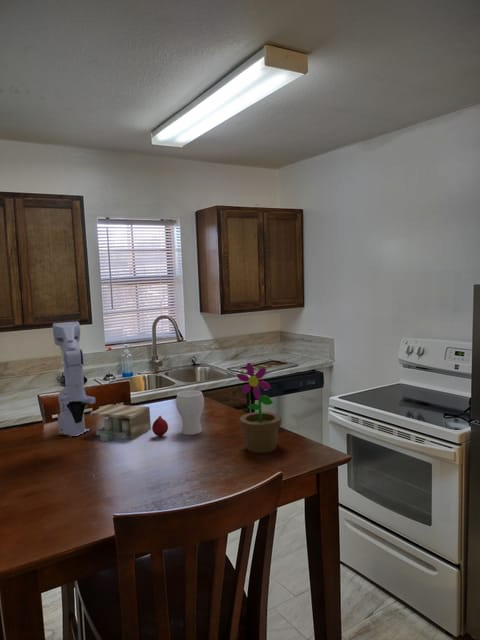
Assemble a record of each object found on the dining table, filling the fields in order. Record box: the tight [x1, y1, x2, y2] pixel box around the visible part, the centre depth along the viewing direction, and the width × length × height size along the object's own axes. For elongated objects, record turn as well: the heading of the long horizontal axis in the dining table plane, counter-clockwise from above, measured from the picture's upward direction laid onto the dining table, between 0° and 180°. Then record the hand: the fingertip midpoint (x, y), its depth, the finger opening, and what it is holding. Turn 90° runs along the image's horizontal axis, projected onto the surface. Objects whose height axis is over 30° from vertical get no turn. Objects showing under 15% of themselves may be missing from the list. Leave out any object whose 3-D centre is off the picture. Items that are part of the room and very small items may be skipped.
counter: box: [89, 404, 152, 441], centre depth 178 cm, size 19×12×9 cm, turn 70°
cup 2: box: [175, 389, 205, 436], centre depth 174 cm, size 11×11×15 cm
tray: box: [95, 417, 131, 442], centre depth 175 cm, size 14×14×7 cm
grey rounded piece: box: [103, 417, 113, 431], centre depth 179 cm, size 3×3×4 cm
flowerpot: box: [236, 362, 282, 454], centre depth 154 cm, size 14×14×30 cm
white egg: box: [122, 420, 130, 433], centre depth 176 cm, size 3×3×4 cm
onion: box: [151, 415, 169, 438], centre depth 170 cm, size 6×6×8 cm
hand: (78, 422), depth 161 cm, fingers closed
